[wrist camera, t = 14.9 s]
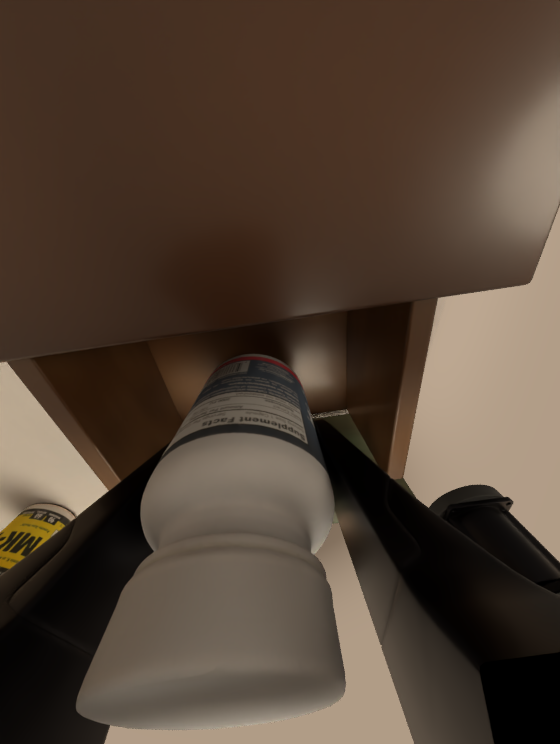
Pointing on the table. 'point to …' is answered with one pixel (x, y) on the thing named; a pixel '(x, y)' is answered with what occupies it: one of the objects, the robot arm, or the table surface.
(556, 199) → the cabinet
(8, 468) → the table surface
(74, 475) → the table surface
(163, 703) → the pill bottle
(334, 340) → the drawer
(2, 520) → the table surface
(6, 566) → the supplement bottle
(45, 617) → the robot arm
